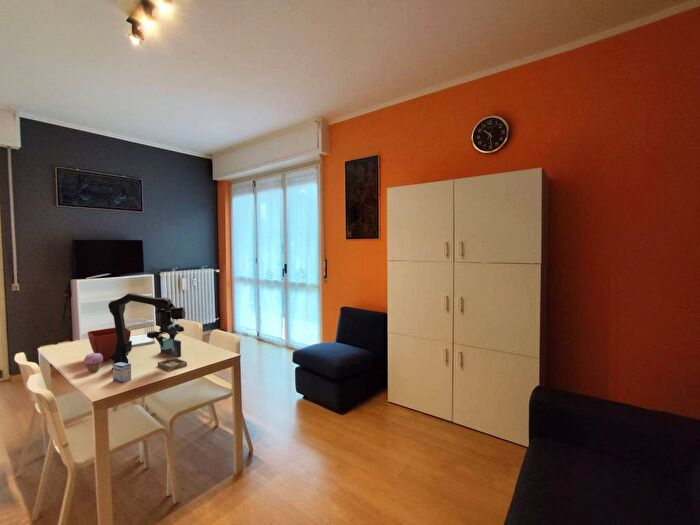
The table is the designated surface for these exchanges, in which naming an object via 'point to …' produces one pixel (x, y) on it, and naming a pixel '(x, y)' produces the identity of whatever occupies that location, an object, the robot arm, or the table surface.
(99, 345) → the plant pot
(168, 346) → the cube
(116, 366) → the medicine box
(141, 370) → the table surface
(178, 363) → the tray
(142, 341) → the file sorter
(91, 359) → the cupcake
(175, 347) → the vhs cassette tape
